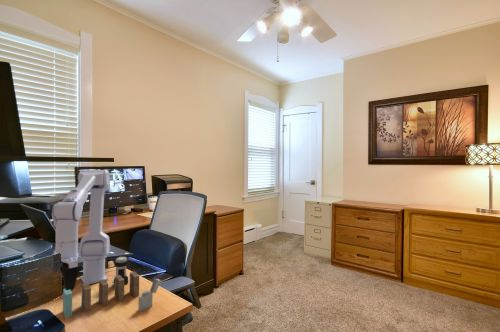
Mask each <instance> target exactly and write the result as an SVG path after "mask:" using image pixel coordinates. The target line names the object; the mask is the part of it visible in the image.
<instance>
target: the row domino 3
mask: <svg viewBox="0 0 500 332" xmlns="http://www.w3.org/2000/svg"><path fill="white" fill-rule="evenodd" d="M114 278H115V286H114V297H115V299H116V300H117V301H118V302H123V301H125V284H124V279H123V278H122V277H121V276H120V275H118V276H116V275H115V276H114Z"/></svg>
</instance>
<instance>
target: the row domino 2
mask: <svg viewBox="0 0 500 332" xmlns="http://www.w3.org/2000/svg"><path fill="white" fill-rule="evenodd" d="M98 302H99V303H100V305H101V306H102V307H106V306H108V305H109V283H108V281H107V280H105V279H102V280H99V282H98Z"/></svg>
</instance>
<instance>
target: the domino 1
mask: <svg viewBox="0 0 500 332" xmlns="http://www.w3.org/2000/svg"><path fill="white" fill-rule="evenodd" d="M62 312H63V313H62V314H63V316H64V318H65V319H68V318H71V317H73V316H72V315H73V291H72V289H70V290H65V288H63V289H62Z"/></svg>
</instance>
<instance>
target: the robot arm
mask: <svg viewBox="0 0 500 332" xmlns="http://www.w3.org/2000/svg"><path fill="white" fill-rule="evenodd" d="M77 181H78V184H77V186H76V187H73V188H71V189H70V191H68V193H67V194H66V195H65V197H64V198H63V200H62V201H59V202H57V203H55V204H54V205H53V206H52V210H51V211H52V212H51V218H52V220H53V227H54V228H55V244H54V245H55V248H54V249H55V253H60V254H61V261H62V262H63V267H61V268H60V271H61V273H62V276H63V277H62V282H63V285H64V286H63V287H64V289H65V290H73V289H74V288H75V287H76V282H77V278H78V276H79V274H80V272H81V270H82V271H83V273H82V275H81V276H79V278H80V279H81V281H82V282H83V283H82V284H85V283H88V284H89V285H92V284H96V283H99V280H102V279H105V280H106V281H107V280H109V278H108V276H107V275H106V274H105V273H106V257H107V255H109V254H110V249H111V242H110V236H109V235H108V234H107V233H105V232H103V224H104V223H103V221H104V205H105V203H104V202H105V193H106V192H107V191H109V190H110V186H111V174H110V172H109V170H108V169H81V170H80V171H79V173H78V175H77ZM88 192H89V193H90V201H89V217H88V219H89V220H88V233H87V234H85V235H84V236H83V237H82V238H80V243H79V220H80V219H81V218H82V214H83V209H84V207H83V206H84V204H85V203H86V201H87V199H88V198H89V194H88ZM55 253H54V254H55ZM79 256H80V257H81V258H82V260H83V264H82V263H78V262H79V261H78V259H79ZM82 268H83V269H82ZM62 282H61V283H62Z"/></svg>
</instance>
